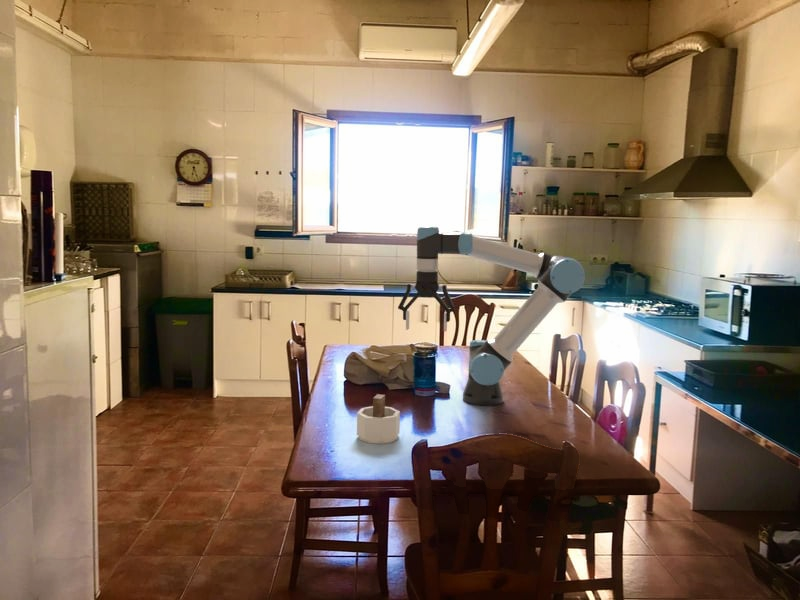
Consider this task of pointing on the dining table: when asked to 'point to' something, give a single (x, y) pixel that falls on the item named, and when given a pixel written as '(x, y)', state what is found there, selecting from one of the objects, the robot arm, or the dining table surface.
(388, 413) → the white short hollow cylinder
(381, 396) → the brown rectangular block
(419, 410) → the dining table surface
